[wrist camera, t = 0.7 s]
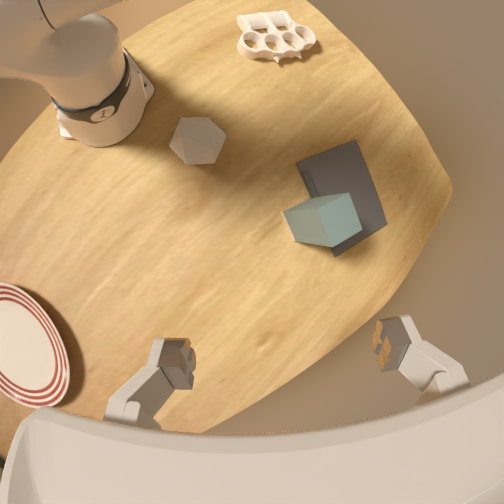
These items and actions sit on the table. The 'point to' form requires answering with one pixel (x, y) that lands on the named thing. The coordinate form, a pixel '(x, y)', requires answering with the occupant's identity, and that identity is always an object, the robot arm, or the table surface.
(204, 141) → the die
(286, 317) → the table surface
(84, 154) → the table surface
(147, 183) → the table surface
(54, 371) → the dinner plate
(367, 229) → the charcoal mat
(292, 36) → the white multi-hole holder
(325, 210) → the block
